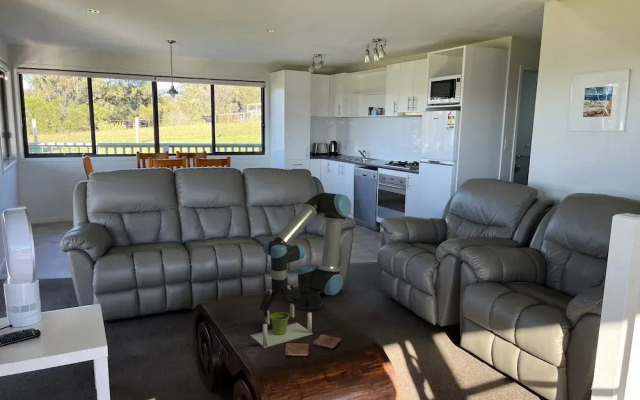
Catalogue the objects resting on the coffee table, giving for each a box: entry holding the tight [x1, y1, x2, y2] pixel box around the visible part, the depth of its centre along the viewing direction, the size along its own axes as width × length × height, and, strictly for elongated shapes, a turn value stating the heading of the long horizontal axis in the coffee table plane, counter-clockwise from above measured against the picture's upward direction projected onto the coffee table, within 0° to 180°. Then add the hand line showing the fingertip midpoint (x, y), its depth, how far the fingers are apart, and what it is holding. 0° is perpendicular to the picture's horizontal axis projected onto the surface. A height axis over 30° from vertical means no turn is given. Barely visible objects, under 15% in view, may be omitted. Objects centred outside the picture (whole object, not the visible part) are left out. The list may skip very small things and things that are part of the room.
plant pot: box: [269, 311, 291, 335], centre depth 220 cm, size 9×9×9 cm
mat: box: [249, 311, 313, 349], centre depth 218 cm, size 26×15×10 cm, turn 124°
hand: (280, 319), depth 220 cm, fingers open, 13 cm apart
